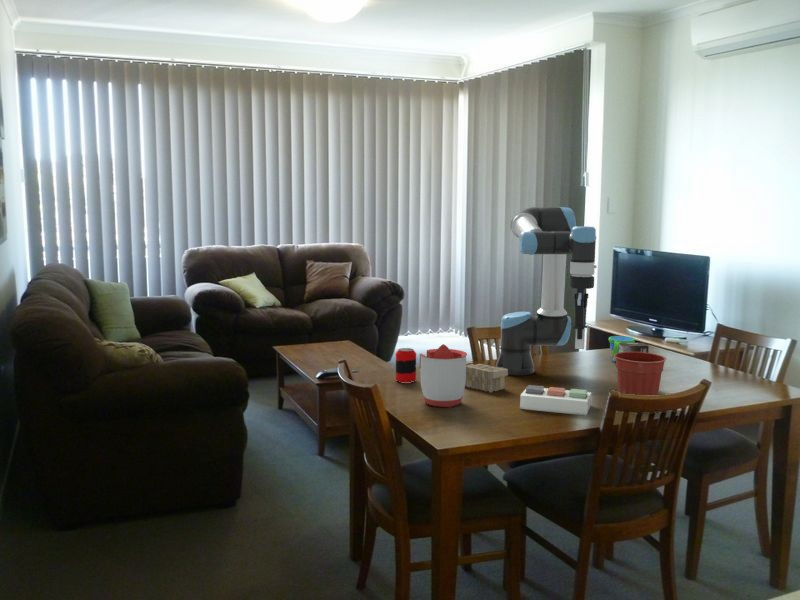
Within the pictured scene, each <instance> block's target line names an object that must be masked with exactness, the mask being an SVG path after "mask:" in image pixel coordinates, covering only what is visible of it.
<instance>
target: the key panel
mask: <svg viewBox="0 0 800 600" xmlns="http://www.w3.org/2000/svg"><path fill="white" fill-rule="evenodd" d="M548 389H549V388H548V387H544V392H543V394H542V395H539V394H528V393H526V388H525V389H524V390H523V391H522V392H521V393H520V397H519V400H520V401H519V402H520V403H519V409H520V410H528V411H539V412H549V413H558V414H559V413H560V414H567V415H568V414H570V415H580V416H588V413H589V411H590V409H591V406H592V392H591V391H590V392H589V391H587V397H586V399H583V398H572V397H569V392H570V390H571V389H570V390H569V389H565V395H564V397H561V396H550V395H547V390H548Z"/></svg>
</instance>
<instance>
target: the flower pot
mask: <svg viewBox="0 0 800 600" xmlns="http://www.w3.org/2000/svg"><path fill="white" fill-rule="evenodd" d="M614 357H615V358H616V363H615V366H616V368H617V370H616V371H617V393H618V392H620V393H621V394H635V395H658V396H659V391H660V384H661V378H662V373H663V370H664V367H665V362H667V358H666V357H665V356H664V355H661V354H657V353H652V352H648V353H646V352H620V353H616V354H614Z"/></svg>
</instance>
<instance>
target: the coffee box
mask: <svg viewBox="0 0 800 600" xmlns="http://www.w3.org/2000/svg"><path fill="white" fill-rule="evenodd" d="M649 347H650V346H649V345H648V344H646V343H645V342H635V343H619V353H620V352H646V353H649Z"/></svg>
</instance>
